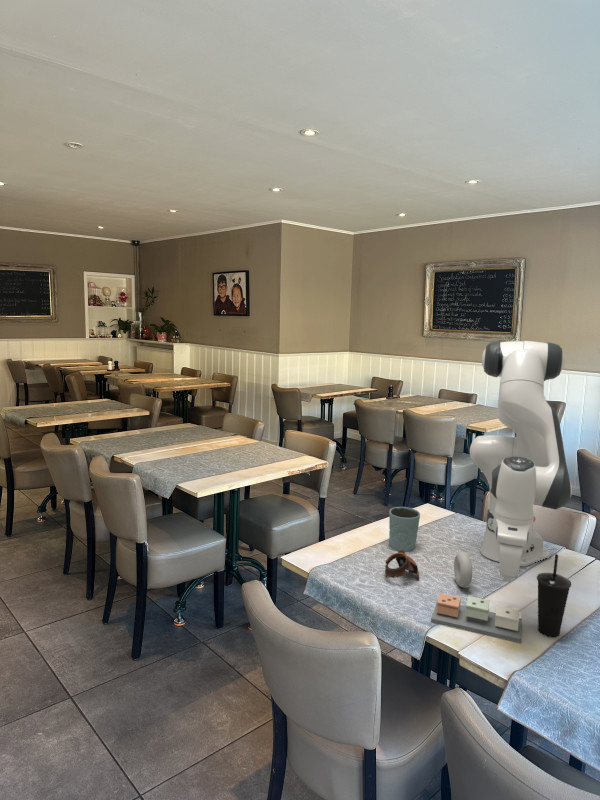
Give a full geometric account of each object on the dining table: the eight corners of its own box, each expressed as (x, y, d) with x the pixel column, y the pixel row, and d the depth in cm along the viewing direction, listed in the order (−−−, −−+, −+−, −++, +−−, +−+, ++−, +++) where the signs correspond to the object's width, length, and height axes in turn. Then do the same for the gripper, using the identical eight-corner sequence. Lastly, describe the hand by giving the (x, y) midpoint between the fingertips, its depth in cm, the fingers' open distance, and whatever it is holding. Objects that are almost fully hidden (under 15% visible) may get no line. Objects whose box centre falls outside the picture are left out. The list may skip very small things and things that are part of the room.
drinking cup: (525, 623, 139) (533, 548, 136) (554, 623, 140) (563, 548, 137) (541, 641, 132) (549, 561, 129) (572, 640, 133) (581, 561, 130)
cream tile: (494, 625, 135) (495, 614, 135) (496, 615, 140) (497, 604, 139) (517, 630, 133) (518, 619, 133) (518, 620, 138) (519, 609, 138)
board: (430, 622, 139) (431, 612, 138) (437, 603, 148) (437, 594, 148) (520, 643, 131) (521, 633, 131) (521, 622, 140) (522, 613, 140)
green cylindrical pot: (403, 538, 191) (406, 505, 190) (424, 549, 183) (427, 514, 181) (380, 543, 186) (382, 509, 184) (401, 555, 178) (403, 519, 176)
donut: (451, 577, 163) (453, 545, 162) (463, 578, 163) (465, 545, 162) (460, 594, 153) (462, 560, 152) (472, 594, 153) (475, 560, 152)
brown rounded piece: (424, 587, 158) (413, 566, 155) (393, 597, 160) (382, 576, 157) (418, 559, 169) (408, 539, 166) (389, 569, 171) (378, 549, 168)
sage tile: (465, 615, 138) (466, 604, 137) (467, 606, 142) (468, 595, 142) (487, 620, 136) (488, 609, 135) (488, 610, 140) (489, 600, 140)
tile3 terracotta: (436, 612, 140) (437, 601, 140) (439, 603, 145) (440, 592, 145) (457, 617, 138) (458, 606, 138) (460, 607, 143) (460, 597, 143)
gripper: (500, 509, 144) (495, 559, 146) (496, 537, 125) (491, 595, 127) (526, 513, 142) (521, 564, 144) (527, 543, 123) (521, 601, 125)
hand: (507, 579), depth 135 cm, fingers closed
